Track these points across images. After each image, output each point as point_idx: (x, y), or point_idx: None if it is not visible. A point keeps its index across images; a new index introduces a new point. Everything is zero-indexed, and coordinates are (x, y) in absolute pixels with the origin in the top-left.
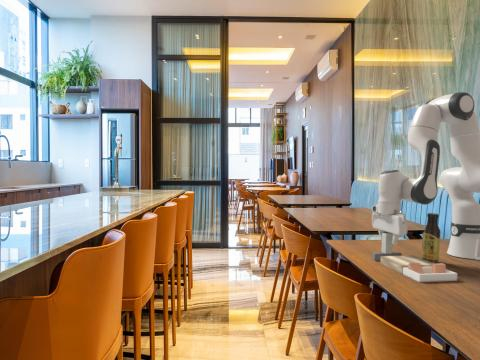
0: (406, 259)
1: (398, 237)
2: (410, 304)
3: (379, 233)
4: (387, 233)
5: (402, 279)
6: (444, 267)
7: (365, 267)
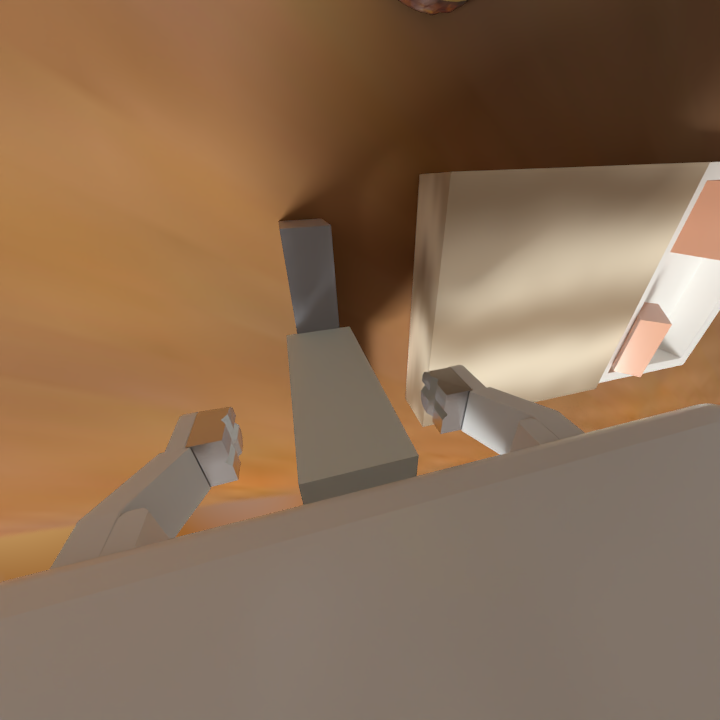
0: (529, 312)
1: (539, 413)
2: None
3: (168, 533)
4: None
5: (600, 389)
6: None
7: (442, 461)
